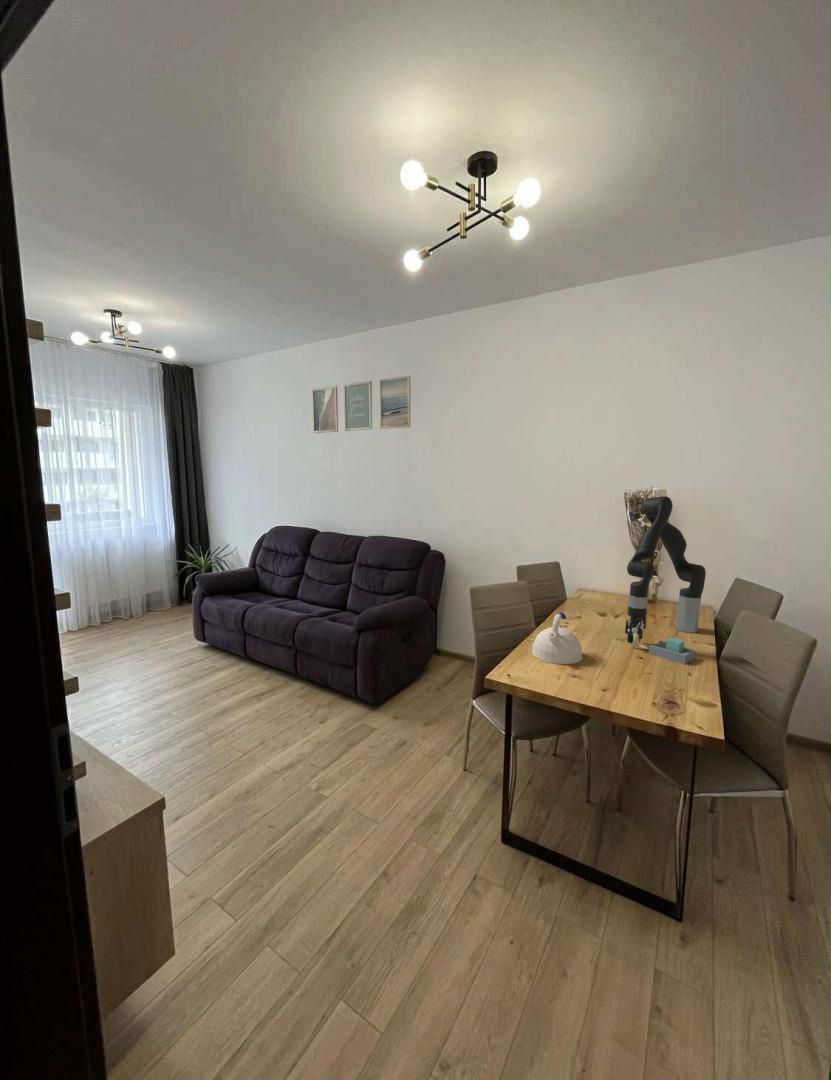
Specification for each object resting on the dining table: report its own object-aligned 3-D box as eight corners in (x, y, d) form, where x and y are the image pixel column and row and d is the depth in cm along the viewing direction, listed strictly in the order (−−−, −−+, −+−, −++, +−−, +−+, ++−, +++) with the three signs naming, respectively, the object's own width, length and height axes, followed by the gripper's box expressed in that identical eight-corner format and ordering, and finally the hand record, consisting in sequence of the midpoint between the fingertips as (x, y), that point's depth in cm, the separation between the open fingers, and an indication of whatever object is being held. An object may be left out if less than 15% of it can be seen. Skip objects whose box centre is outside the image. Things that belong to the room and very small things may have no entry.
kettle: (525, 658, 185) (527, 615, 182) (539, 642, 202) (541, 604, 200) (576, 669, 174) (578, 624, 172) (586, 652, 192) (589, 611, 189)
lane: (659, 648, 197) (660, 640, 196) (694, 658, 186) (695, 650, 185) (648, 653, 190) (649, 645, 190) (684, 664, 180) (685, 655, 179)
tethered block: (634, 643, 203) (635, 628, 202) (683, 657, 187) (684, 641, 186) (629, 645, 200) (630, 630, 199) (678, 659, 184) (679, 643, 183)
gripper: (636, 601, 205) (634, 635, 207) (621, 606, 196) (618, 641, 199) (653, 604, 199) (650, 639, 201) (638, 610, 191) (635, 646, 193)
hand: (634, 640), depth 200 cm, fingers open, 8 cm apart
